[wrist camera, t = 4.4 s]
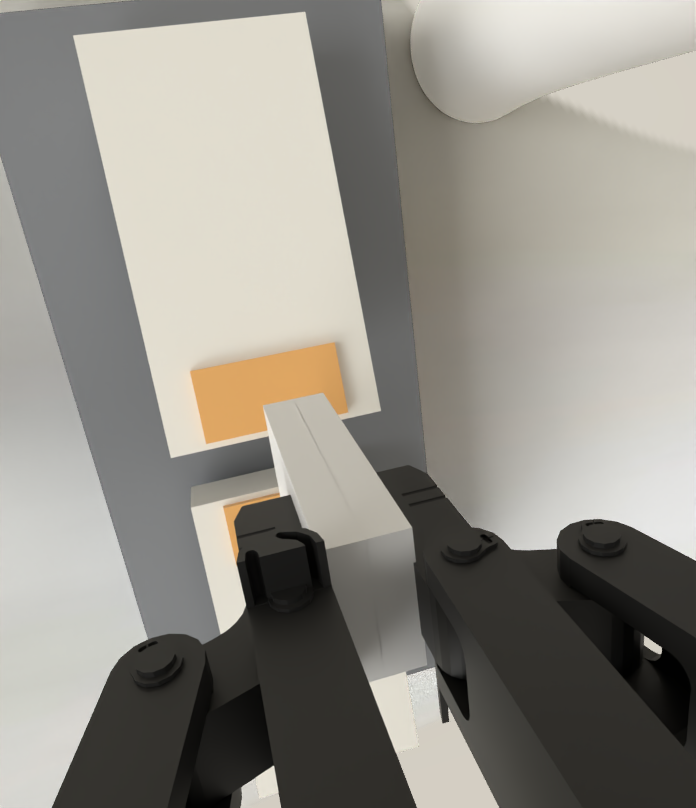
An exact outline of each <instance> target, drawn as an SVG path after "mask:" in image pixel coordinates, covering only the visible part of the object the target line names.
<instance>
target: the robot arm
mask: <svg viewBox="0 0 696 808" xmlns="http://www.w3.org/2000/svg"><path fill="white" fill-rule="evenodd" d="M263 409H264V415H265V420H266V425H267V430H268V435H269V441H270V446H271V451H272V456H273V461H274V467H275V472H276V477H277V482H278V487H279V493H280V497H279V498H274V499H270V500H266V501H262V502H258V503H253V504H249V505H245V506H242V507H241V509H240V511H239V512H238V514H237V516H236V518H235V520H234V526H235V532H236V538H237V544H238V549H239V552H238V557H237V562H236V564H237V568H238V572H239V577H240V581H241V585H242V590H243V594H244V598H245V603H246V607H245V609H244V612H243V614H242V615H241V617H240V618H239V619H238V621H237V622H236V623H235V624H234V625H233V626H232V627H230V628H229V629H228V630H227V631H226V632H224V633H222V634H221V635H219V636H218V637H216V638H214V639H212V640H210V641H208V642H207V643H205V644H203V645H202V644H201V643H200V641H199V640H198V639H196V638H194V637H191V636H189V635H187V634H166V635H161V636H157V637H153V638H150V639H148V640H146V641H144V642H142V643H140V644H138V645H136V646H134V647H133V648H132V649H131V650H129V651H128V652H127V653H126V654H125V655H123V656H122V657H121V658H120V659H119V660H118V662H117V663H116V665H115V666H114V668H113V669H112V671H111V672H110V675H109V677H108V679H107V682H106V684H105V686H104V688H103V691H102V693H101V695H100V698H99V700H98V702H97V705H96V707H95V709H94V712H93V714H92V716H91V718H90V721H89V723H88V725H87V728H86V730H85V732H84V735H83V737H82V739H81V742H80V744H79V746H78V749H77V751H76V753H75V755H74V758H73V760H72V762H71V765H70V767H69V769H68V772H67V774H66V776H65V779H64V781H63V783H62V785H61V788H60V790H59V792H58V795H57V797H56V799H55V802H54V804H53V806H52V808H240V806H241V800H242V793H241V787H242V786H243V785H245V784H246V783H248V782H250V781H251V780H253V779H254V778H256V777H257V776H259V775H260V774H262V773H263V772H265V771H266V770H268V769H269V768H271V767H272V766H274V769H275V774H276V780H277V786H278V792H279V797H280V803H281V808H417V807H416V804H415V801H414V799H413V796H412V794H411V791H410V788H409V786H408V783H407V781H406V778H405V775H404V773H403V770H402V768H401V765H400V762H399V760H398V757H397V755H396V752H395V749H394V747H393V744H392V741H391V739H390V736H389V734H388V731H387V728H386V726H385V723H384V721H383V718H382V715H381V713H380V710H379V708H378V705H377V702H376V700H375V697H374V695H373V692H372V689H371V687H370V684H369V682H372V681H376V680H379V679H383V678H386V677H389V676H393V675H396V674H399V673H403V672H406V671H409V670H413V669H416V668H420V667H423V666H426V665H427V658H426V649H425V642H426V644H427V646H428V648H429V650H430V651H431V653H432V655H433V657H434V659H435V668H436V678H437V687H438V697H439V706H440V714H441V718H442V723H446V722H449V716H448V707H449V709H450V711H451V713H452V715H453V717H454V719H455V721H456V722H457V725H458V727H459V728H460V730H461V732H462V734H463V736H464V739H465V740H466V742H467V744H468V746H469V748H470V750H471V752H472V754H473V756H474V758H475V760H476V762H477V764H478V766H479V768H480V770H481V772H482V774H483V776H484V778H485V780H486V782H487V784H488V786H489V788H490V790H491V792H492V794H493V796H494V798H495V800H496V802H497V804H498V806H499V808H696V561H695V560H693V559H691V558H689V557H687V556H685V555H684V554H682V553H680V552H678V551H676V550H674V549H672V548H670V547H668V546H666V545H664V544H663V543H661V542H659V541H657V540H655V539H653V538H651V537H649V536H647V535H645V534H643V533H641V532H640V531H638V530H636V529H634V528H632V527H629V526H627V525H624V524H621V523H619V522H615V521H608V520H602V519H593V520H583V521H579V522H576V523H572V524H569V525H568V526H567V527H565V528H564V529H563V530H561V531H560V533H559V536H558V538H557V549H551V550H530V551H526V550H511V549H510V548H509V547H508V545H507V544H506V543H505V542H504V541H503V540H502V539H501V538H499V537H498V536H497V535H495V534H494V533H492V532H489V531H486V530H483V529H480V528H471V526H470V525H469V524H468V523H467V522H466V520H465V519H464V518H463V517H462V516H461V514H460V513H459V512H458V511H457V509H456V508H455V507H454V506H453V505H452V503H451V502H450V501H449V500H448V499H447V498H445V495H444V494H443V492H442V491H441V490H440V489H439V488H437V485H436V484H435V483H434V481H433V480H432V479H431V478H430V477H429V475H428V474H427V473H425V472H423V471H421V470H419V469H417V468H414V467H412V466H410V465H406V466H402V467H397V468H393V469H389V470H385V471H380V472H375V470H374V469H373V467H372V466H371V464H370V463H369V461H368V460H367V458H366V457H365V455H364V454H363V452H362V451H361V449H360V448H359V446H358V445H357V443H356V442H355V440H354V439H353V437H352V436H351V434H350V433H349V431H348V430H347V428H346V426H345V425H344V423H343V422H342V420H341V419H340V417H339V416H338V414H337V413H336V411H335V410H334V408H333V407H332V405H331V404H330V402H329V401H328V399H327V398H326V396H325V395H324V393H319V394H314V395H309V396H305V397H300V398H295V399H291V400H286V401H281V402H276V403H272V404H267V405H263ZM644 636H646V637H648V638H649V639H650V640H652V641H653V642H655V643H656V644H658V645H659V646H661V647H662V654H657V653H655V652H653V651H651V650H650V649H649V648H647V647H646V646H644Z"/></svg>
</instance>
